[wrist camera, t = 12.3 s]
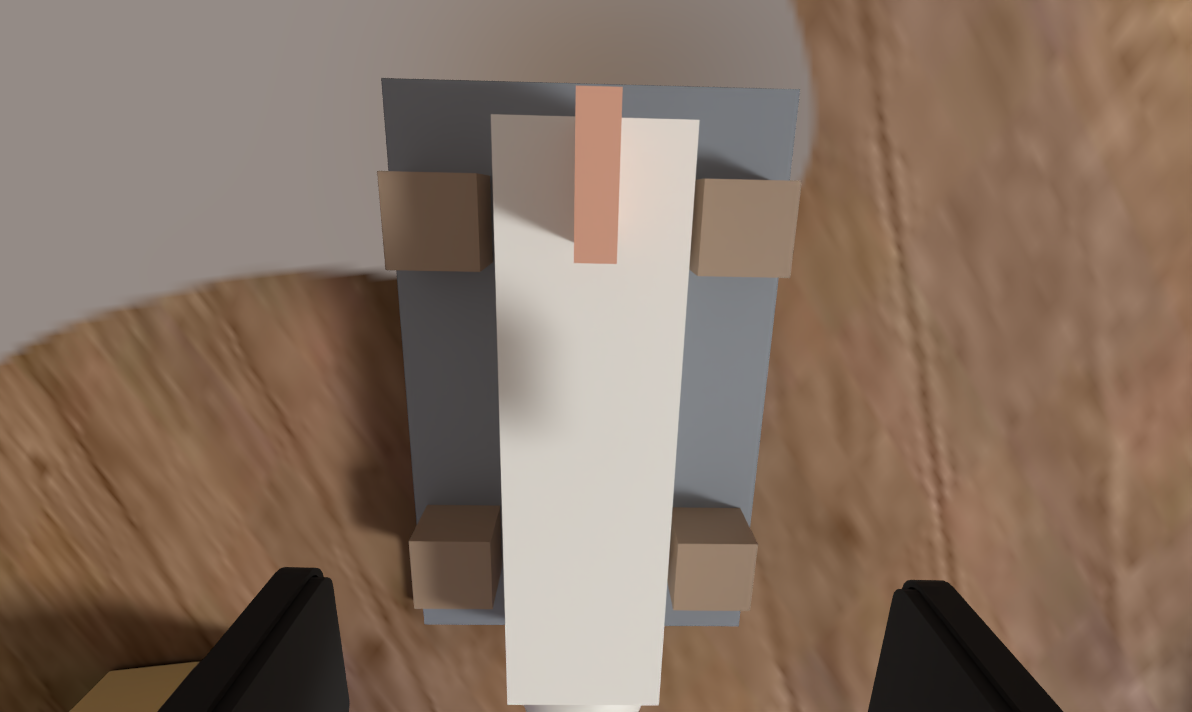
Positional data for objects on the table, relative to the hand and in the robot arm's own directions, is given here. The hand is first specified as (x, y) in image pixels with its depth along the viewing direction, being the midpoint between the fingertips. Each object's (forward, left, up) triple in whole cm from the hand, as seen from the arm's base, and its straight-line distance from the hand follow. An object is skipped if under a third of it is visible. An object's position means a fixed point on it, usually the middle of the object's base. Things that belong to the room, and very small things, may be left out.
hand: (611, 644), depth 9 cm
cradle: (0, 0, -14) cm, 14 cm away
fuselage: (0, +1, -13) cm, 13 cm away
